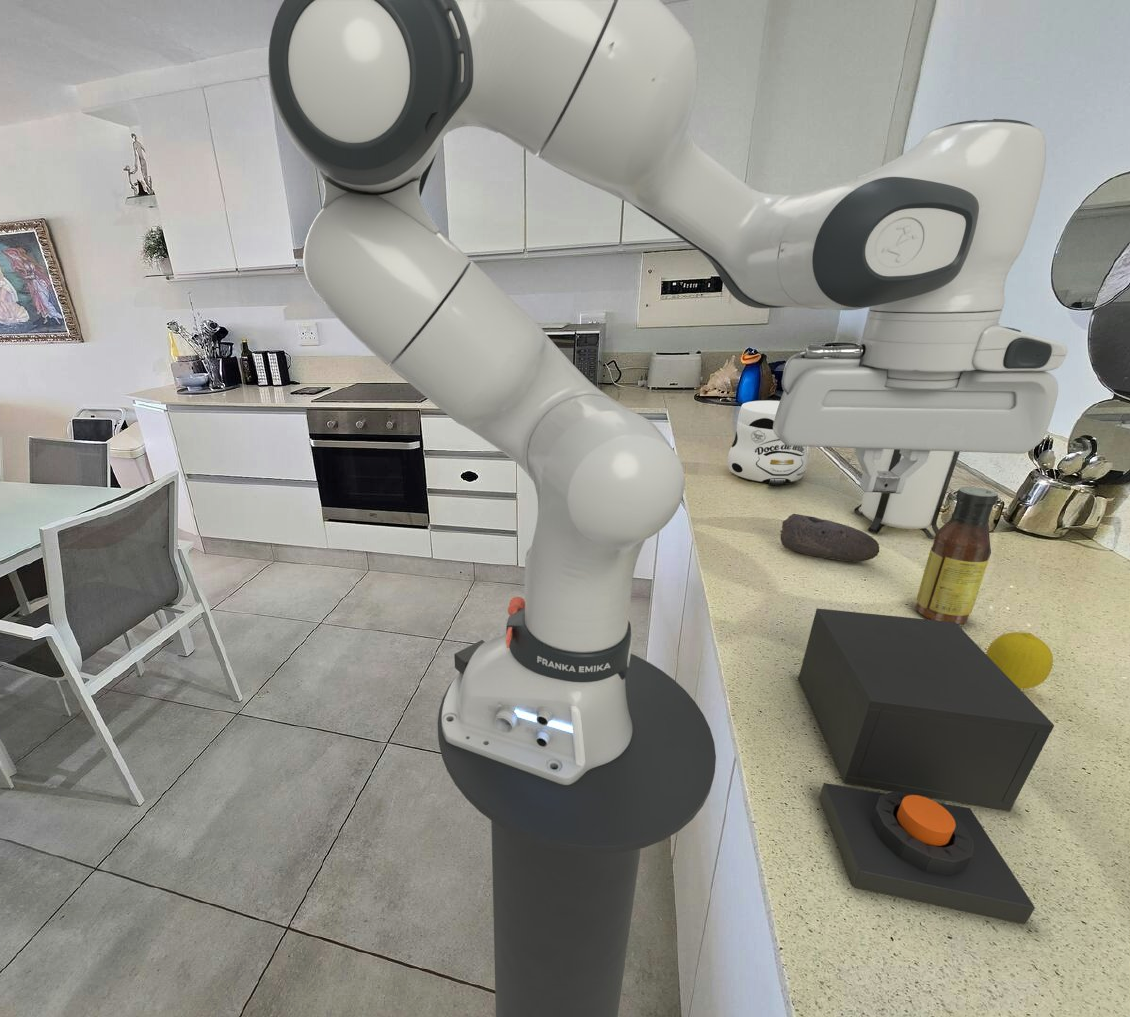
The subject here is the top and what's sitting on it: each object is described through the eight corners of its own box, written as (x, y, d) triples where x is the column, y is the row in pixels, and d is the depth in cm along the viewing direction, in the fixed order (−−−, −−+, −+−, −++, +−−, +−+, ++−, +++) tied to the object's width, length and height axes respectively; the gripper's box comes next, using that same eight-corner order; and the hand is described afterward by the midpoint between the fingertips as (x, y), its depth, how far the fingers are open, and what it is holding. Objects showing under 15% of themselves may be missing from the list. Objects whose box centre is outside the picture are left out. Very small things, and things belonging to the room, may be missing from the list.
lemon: (970, 667, 71) (991, 616, 68) (1027, 679, 68) (1052, 626, 65) (984, 694, 66) (1007, 641, 63) (1046, 708, 64) (1073, 653, 61)
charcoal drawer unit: (797, 679, 70) (816, 608, 66) (926, 696, 66) (955, 622, 62) (843, 783, 56) (871, 700, 52) (1010, 811, 52) (1055, 725, 48)
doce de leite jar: (775, 495, 126) (791, 419, 118) (710, 475, 140) (720, 406, 132) (818, 480, 133) (835, 408, 126) (752, 462, 147) (764, 396, 140)
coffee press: (964, 531, 105) (1020, 375, 94) (908, 547, 100) (960, 384, 89) (873, 501, 120) (912, 363, 109) (820, 513, 116) (855, 370, 104)
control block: (853, 887, 47) (864, 856, 45) (818, 798, 55) (827, 769, 53) (1025, 925, 43) (1044, 893, 42) (962, 823, 51) (976, 794, 50)
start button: (907, 841, 46) (913, 827, 46) (889, 804, 50) (894, 790, 49) (958, 850, 46) (965, 836, 45) (936, 812, 49) (942, 799, 48)
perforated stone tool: (875, 560, 97) (885, 525, 94) (874, 573, 93) (885, 536, 90) (779, 541, 105) (786, 508, 102) (775, 551, 101) (782, 518, 99)
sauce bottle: (978, 623, 79) (1029, 497, 71) (945, 630, 78) (993, 503, 70) (931, 599, 85) (974, 481, 77) (900, 606, 84) (940, 486, 76)
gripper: (798, 350, 48) (769, 496, 53) (1095, 348, 42) (1029, 510, 48) (779, 342, 53) (754, 474, 59) (1040, 338, 48) (986, 485, 53)
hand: (879, 491), depth 53 cm, fingers closed
